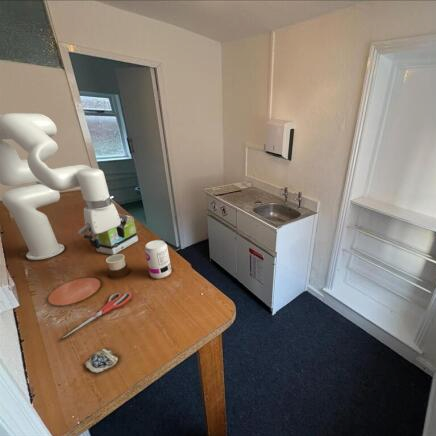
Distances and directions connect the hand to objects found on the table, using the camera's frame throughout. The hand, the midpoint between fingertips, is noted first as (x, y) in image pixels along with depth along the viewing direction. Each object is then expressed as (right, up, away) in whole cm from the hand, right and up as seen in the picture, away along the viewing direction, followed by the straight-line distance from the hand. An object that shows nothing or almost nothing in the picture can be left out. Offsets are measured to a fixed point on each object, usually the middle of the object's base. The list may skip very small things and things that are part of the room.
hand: (109, 241), depth 93 cm
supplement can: (+16, -15, +9) cm, 24 cm away
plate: (-10, -19, -4) cm, 21 cm away
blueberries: (+19, -32, -27) cm, 46 cm away
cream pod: (0, -11, +5) cm, 12 cm away
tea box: (-15, -5, +25) cm, 30 cm away
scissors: (+8, -24, -13) cm, 29 cm away
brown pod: (-1, -14, +6) cm, 16 cm away
